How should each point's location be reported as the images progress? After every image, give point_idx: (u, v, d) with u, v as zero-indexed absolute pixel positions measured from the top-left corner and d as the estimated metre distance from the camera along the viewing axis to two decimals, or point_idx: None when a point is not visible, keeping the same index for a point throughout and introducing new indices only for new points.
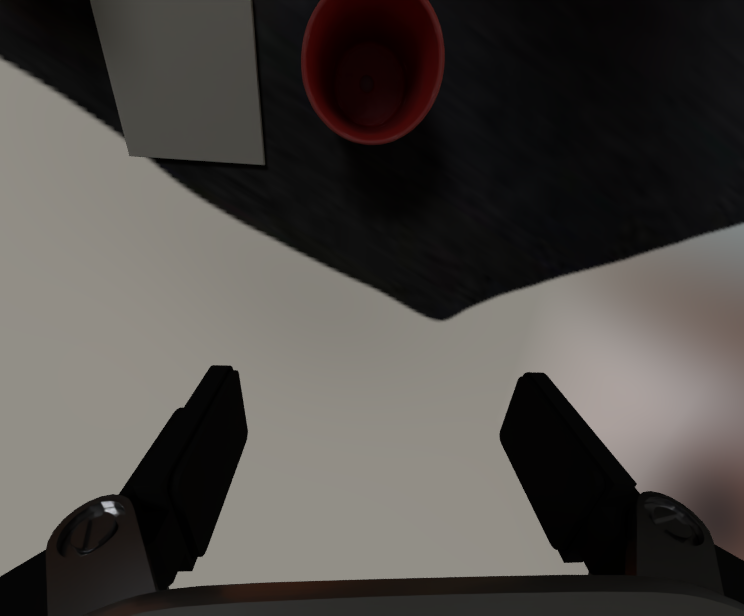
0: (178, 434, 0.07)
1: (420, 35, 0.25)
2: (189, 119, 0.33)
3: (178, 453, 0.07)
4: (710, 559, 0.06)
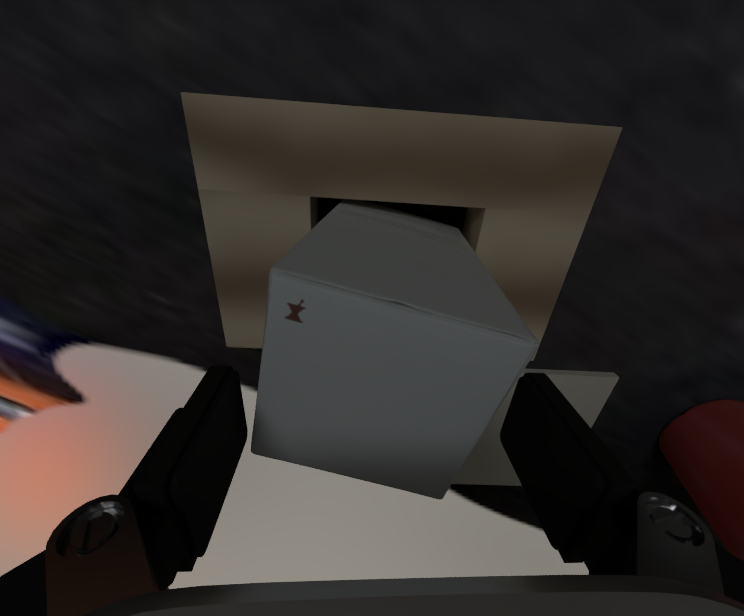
0: (178, 434, 0.07)
1: None
2: (497, 459, 0.30)
3: (178, 453, 0.07)
4: (711, 559, 0.06)
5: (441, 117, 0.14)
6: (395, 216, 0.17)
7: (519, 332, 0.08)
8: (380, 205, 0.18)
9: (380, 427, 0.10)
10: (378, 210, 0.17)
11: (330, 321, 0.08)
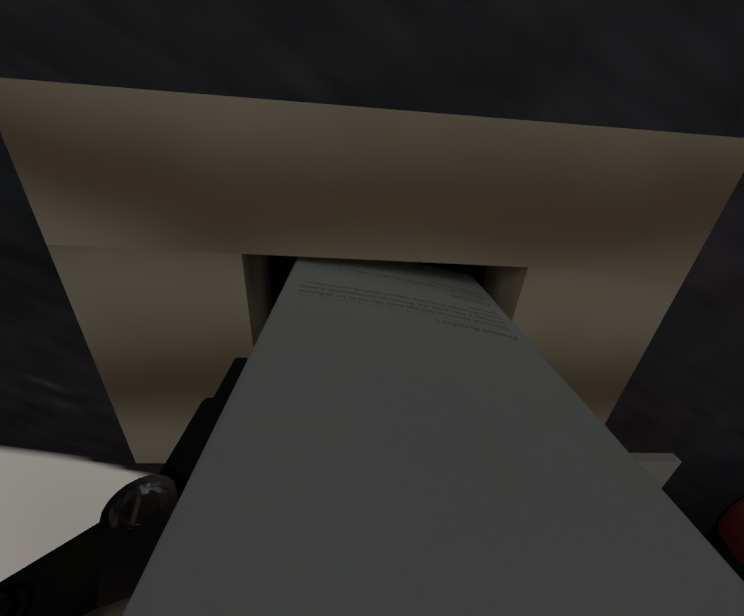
0: (211, 420, 0.08)
1: None
2: None
3: None
4: None
5: (461, 122, 0.08)
6: (387, 276, 0.11)
7: None
8: None
9: None
10: (359, 267, 0.11)
11: None
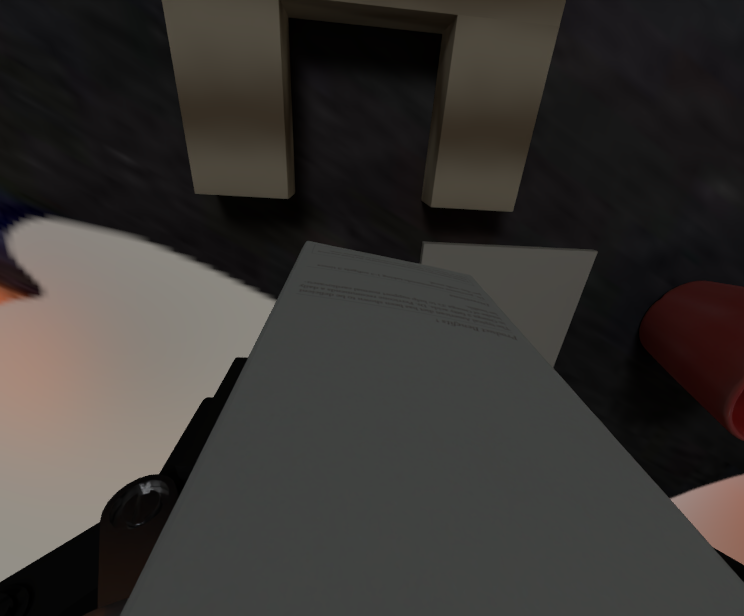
0: (212, 420, 0.08)
1: None
2: None
3: None
4: None
5: None
6: (387, 276, 0.11)
7: None
8: (359, 252, 0.12)
9: None
10: (359, 268, 0.11)
11: None
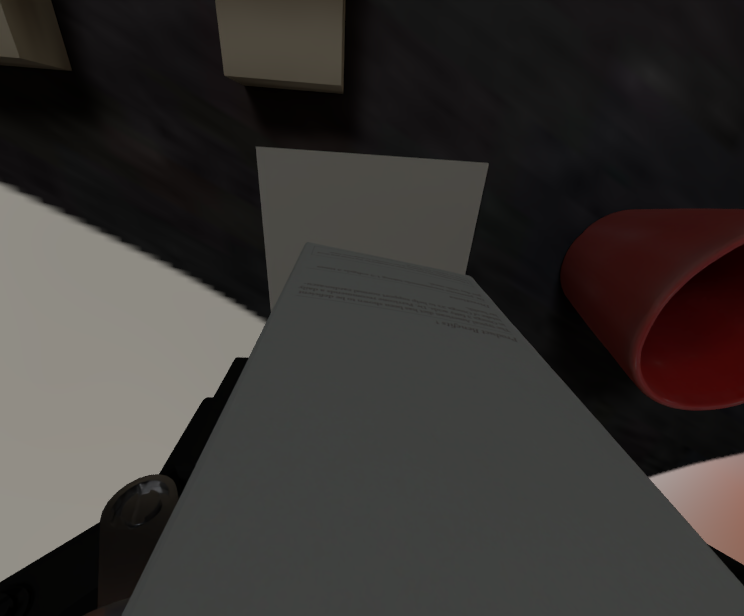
0: (211, 420, 0.08)
1: None
2: None
3: None
4: None
5: None
6: (387, 277, 0.11)
7: None
8: (359, 253, 0.12)
9: None
10: (359, 269, 0.11)
11: None
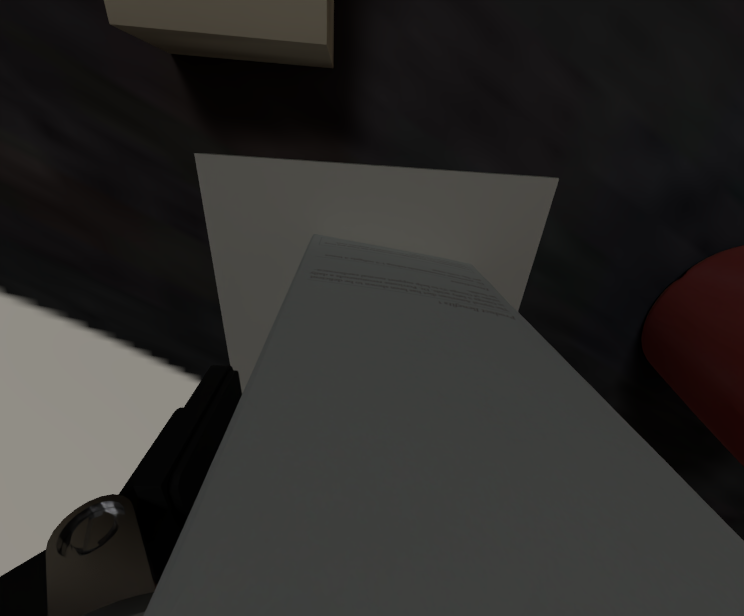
0: (178, 434, 0.07)
1: None
2: None
3: (178, 453, 0.07)
4: None
5: None
6: (391, 264, 0.11)
7: None
8: (363, 244, 0.13)
9: None
10: (365, 257, 0.11)
11: None
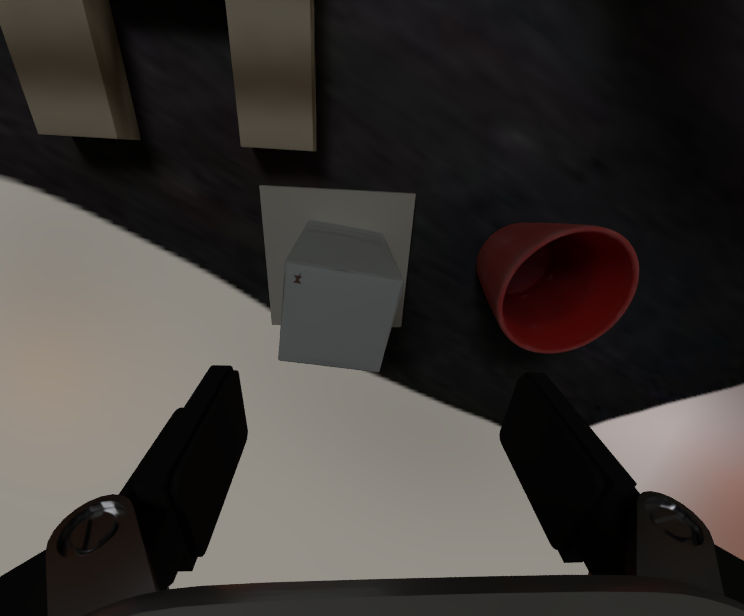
0: (178, 434, 0.07)
1: (602, 255, 0.26)
2: None
3: (178, 453, 0.07)
4: (710, 559, 0.06)
5: None
6: (341, 229, 0.28)
7: (395, 277, 0.20)
8: (331, 223, 0.29)
9: (342, 333, 0.21)
10: (330, 227, 0.28)
11: (313, 281, 0.19)
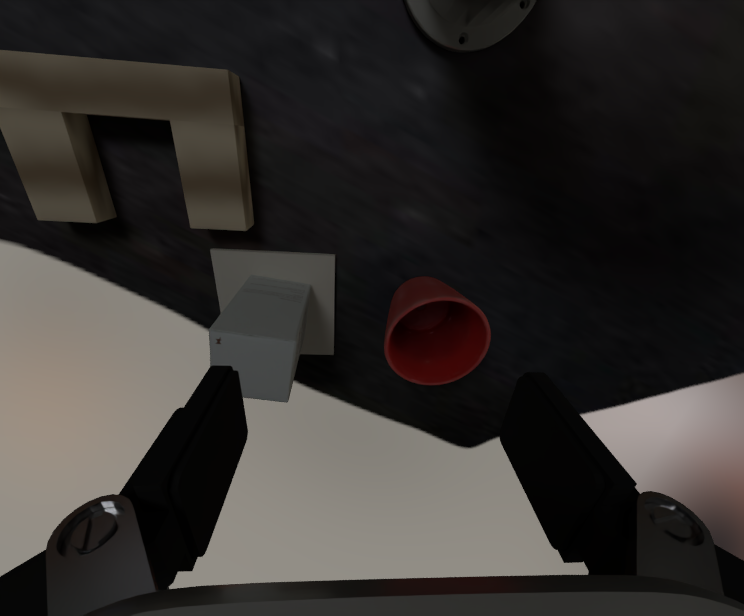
0: (178, 434, 0.07)
1: (470, 311, 0.34)
2: None
3: (178, 453, 0.07)
4: (710, 559, 0.06)
5: (121, 63, 0.26)
6: (272, 286, 0.35)
7: (289, 339, 0.27)
8: (268, 278, 0.37)
9: (255, 376, 0.29)
10: (264, 283, 0.36)
11: (230, 342, 0.27)
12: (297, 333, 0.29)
